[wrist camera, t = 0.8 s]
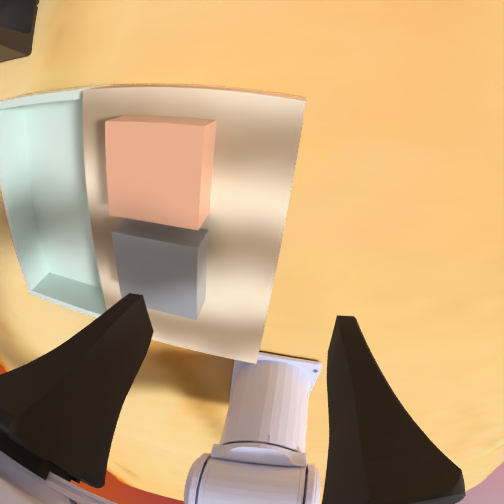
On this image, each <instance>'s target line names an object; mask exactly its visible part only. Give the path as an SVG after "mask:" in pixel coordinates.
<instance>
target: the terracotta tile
mask: <svg viewBox="0 0 504 504" xmlns="http://www.w3.org/2000/svg"><path fill="white" fill-rule="evenodd" d="M216 124H217V120H211V119H200V118H187V117H172V116H153V115H123V116H120V117H117V118H114V119H111V120H107V121H105V149H106V172H107V188H108V201H109V212H110V215H111V216H117V217H123V218H129V219H135V220H141V221H146V222H152V223H158V224H164V225H170V226H175V227H181V228H187V229H192V230H199V229H200V227H201V226H202V224H203V223H204V221H205V220H206V218H207V217H208V215H209V214H210V200H211V185H212V172H213V159H214V147H215V135H216Z"/></svg>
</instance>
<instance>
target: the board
mask: <svg viewBox="0 0 504 504" xmlns="http://www.w3.org/2000/svg"><path fill="white" fill-rule="evenodd" d="M305 106H306V97H301V96H295V95H289V94H283V93H276V92H269V91H262V90H254V89H245V88H235V87H224V86H211V85H194V84H117V85H110V86H103V87H97V88H91V89H85V90H83V144H84V162H85V176H86V187H87V197H88V206H89V214H90V222H91V229H92V235H93V242H94V248H95V254H96V260H97V265H98V270H99V276H100V281H101V285H102V290H103V295H104V299H105V304H106V308H107V310H108V309H109V308H111V307H112V306H113V305H114V304H116V303H117V302H118V301H119V300H121V299H122V298H121V293H120V287H119V281H118V275H117V268H116V262H115V255H114V247H113V239H112V231H113V230H114V229H115V228H116V227H117V226H118V225H119V224H120V223H121V222H123V221H124V220H125V219H126V218H123V217H117V216H111V215H110V212H109V201H108V188H107V172H106V149H105V121H107V120H111V119H114V118H117V117H120V116H123V115H153V116H172V117H187V118H200V119H211V120H217V124H216V135H215V147H214V159H213V172H212V185H211V200H210V214H209V215H208V217H207V218H206V220H205V221H204V223H203V224H202V226H201V227H200V228H201V229H207V230H209V233H208V252H207V274H206V299H205V301H204V304H203V306H202V309H201V311H200V313H199V316H198V318H197V320H194V319H190V318H185V317H181V316H177V315H173V314H169V313H165V312H161V311H157V310H153V309H149V308H147V311H148V314H149V318H150V321H151V324H152V328H153V331H154V332H153V336H152V340H155V341H159V342H163V343H166V344H170V345H174V346H178V347H182V348H186V349H190V350H194V351H198V352H203V353H207V354H211V355H216V356H220V357H225V358H230V359H234V360H239V361H244V362H249V363H255V364H257V359H258V355H259V350H260V345H261V341H262V336H263V331H264V326H265V322H266V317H267V312H268V307H269V302H270V297H271V292H272V287H273V282H274V277H275V272H276V267H277V262H278V257H279V252H280V247H281V241H282V236H283V231H284V226H285V220H286V215H287V210H288V204H289V199H290V193H291V188H292V182H293V176H294V171H295V165H296V159H297V154H298V148H299V142H300V136H301V130H302V124H303V118H304V112H305Z"/></svg>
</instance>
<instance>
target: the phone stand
mask: <svg viewBox="0 0 504 504" xmlns="http://www.w3.org/2000/svg"><path fill="white" fill-rule="evenodd" d="M38 3H39V0H0V62H1V61H5V60H9V59H13V58H18V57H22V56H27V55H30V54H31V51H32V42H33V35H34V27H35V21H36V15H37V9H38V7H37V4H38Z"/></svg>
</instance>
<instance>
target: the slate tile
mask: <svg viewBox="0 0 504 504" xmlns="http://www.w3.org/2000/svg"><path fill="white" fill-rule="evenodd" d="M208 233H209V230H207V229H201V228H200V229H199V230H192V229H187V228H181V227H175V226H170V225H164V224H158V223H152V222H146V221H141V220H135V219H129V218H126V219H125V220H124V221H123V222H121V223H120V224H119V225H118V226H117V227H116V228H115V229H114V230H113V231H112V239H113V247H114V255H115V262H116V268H117V275H118V281H119V287H120V293H121V298H123V297H125V296H126V295H127V294H129V293H133V294H140V295H143V297H144V301H145V304H146V308H149V309H153V310H157V311H161V312H165V313H169V314H173V315H177V316H181V317H185V318H190V319H194V320H197V318H198V316H199V313H200V311H201V309H202V306H203V304H204V301H205V299H206V274H207V252H208Z"/></svg>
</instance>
